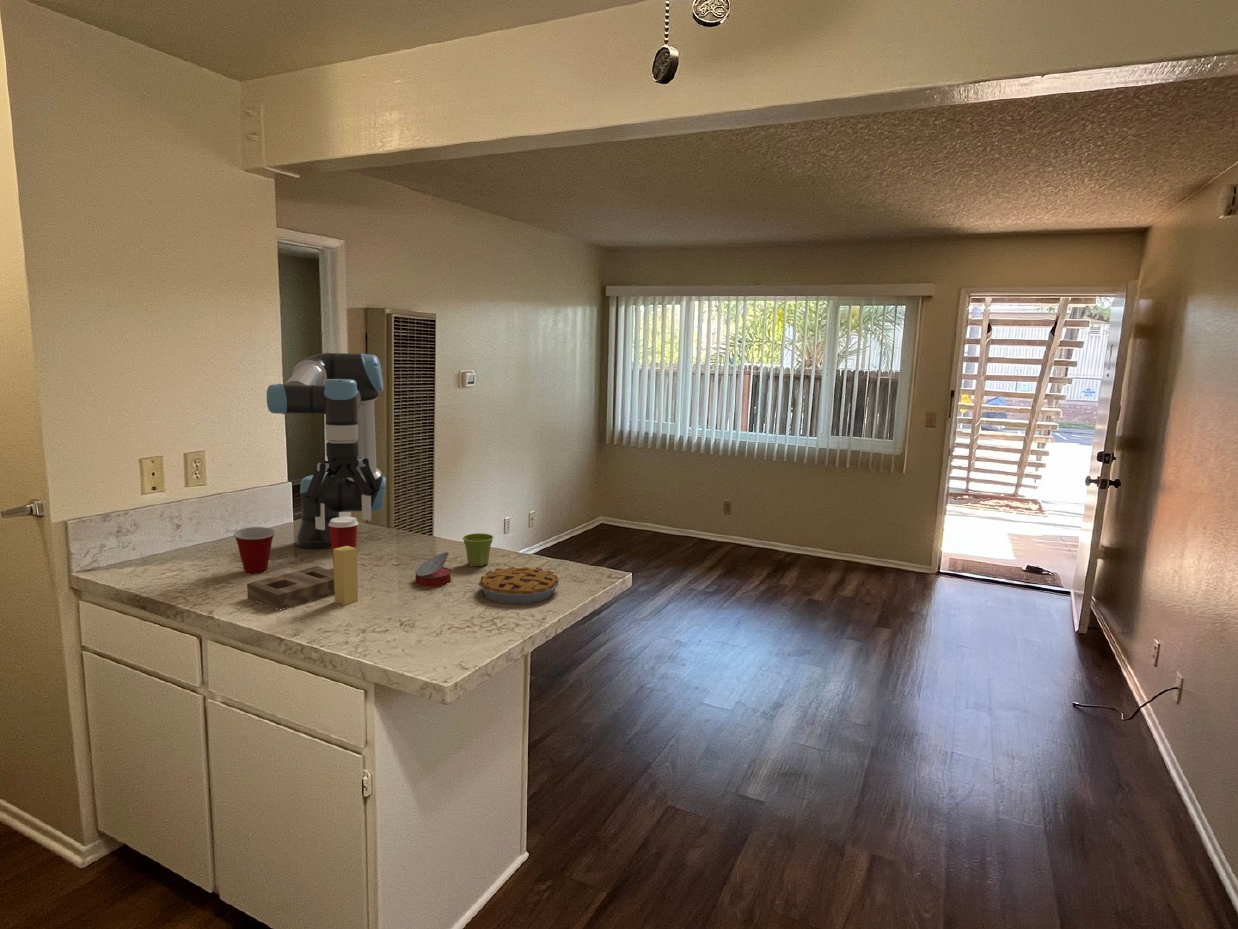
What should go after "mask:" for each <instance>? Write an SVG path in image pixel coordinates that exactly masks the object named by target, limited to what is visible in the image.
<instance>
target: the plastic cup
mask: <svg viewBox="0 0 1238 929" xmlns="http://www.w3.org/2000/svg"><path fill="white" fill-rule="evenodd" d="M275 534H276V530H275V529H273V528H270V527H266V526H251V527H250V526H249V527H243V528H240V529H237V530H235V531H234V532H233V534H232V535H233V536H234V538H235V541H236V544H237V547H238V551H239V556H240V560H241V563H242V566H243V571H244V573H245V572H246V573H245V574H247V573H250V574H249V575H256V574H255V573H259V574H262V573H261V572H263V573H265V572H267V571H266V570H268V568H269V561H270V555H271V548H272V542H273V538H274V536H275ZM264 571H265V572H264Z"/></svg>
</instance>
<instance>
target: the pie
mask: <svg viewBox="0 0 1238 929" xmlns="http://www.w3.org/2000/svg"><path fill="white" fill-rule="evenodd" d="M559 583H560V579H559V578H558V576H557V575H556V574H554V572H553V571H550V570H546V571H545V570H543V569H542V568H539V567H536V568H535V569H534V568H530V567H527V566H526V567H525V566H523V567H521V568H520V567H515V566H512V567H510V566H509V567H508V568H495V570H494V571H492V570H489V571H487V572H486V573H485V575H482V576H481V578H480V580H479V582H478V585H479V587H480V588H481V590H482V591H483V594H484V595H485V597H486V598H487V599H488V600H492V601H495V602H498V601H499V602H498V603H504V602H505V603H506V604H519V603H526V604H533V603H532V602H535V603H539V602H538V601H540V602H542V601H545V600H548V598H550V597H551V596H552V595H553V594H554V592H555V591H556V588H557V587H559V585H560V584H559ZM549 596H550V597H549Z"/></svg>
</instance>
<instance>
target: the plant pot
mask: <svg viewBox="0 0 1238 929" xmlns="http://www.w3.org/2000/svg"><path fill="white" fill-rule="evenodd" d="M494 537H495V536H493V535H492V534H490V533H483V532H482V533H481V532H479V533H469V534H465V535H463V536H462V541H463V544H464V546H465V551H466V552H465V553H466V557H467V558H466V559H467V564H469V566H471V565H472V566H471V567H473V566H481V567H482V566H484V565H486V564H487V565H489V561H490V552H491V546H492V544H493V540H494ZM487 565H486V566H487Z"/></svg>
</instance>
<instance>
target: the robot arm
mask: <svg viewBox="0 0 1238 929" xmlns="http://www.w3.org/2000/svg"><path fill="white" fill-rule="evenodd" d="M382 372H383V370H382V366H381V362H380V360H379V358H378V357H377V355H375V354H369V353H350V352H349V353H345V352H344V353H343V352H341V353H340V352H339V353H336V352H324V353H323V352H322V353H318V354H314V355H311V356H308V357H306V358H304V359H302V360H300V361H299V362H297V363H296V364H295V366H294V367H293V370H292V372H291V376H290V377H289V378H288V380H287V381H286V382H285V383H283V384H282V383H275V384H269V385H268V387H267V389H266V407H267V409H268V411H269V412H270V413H272V414H281V415H325V439H326V441H327V442H326V443H325V451H326V453H325V454H326V457H327V460H326V461H327V462H324V463H323V462H318V461H317V462H316V463H315V466H314V473H313V474H311V475H308V476H304V477H303V478H302V480H301V481H300V487H299V488H300V490H299V494H300V511H301V512H300V513H301V514H300V515H301V516H300V517H301V522H300V525H299V529H298V531H297V535H296V538H295V541H296V546H297V547H299V548H302V549H310V550H312V549H313V550H315V549H329V548H332V545H331V534H330V526H329V525H328V524H329V523H330V521H331V519H333V518H338V517H340V513H354V512H355V513H359V512H361V520H363V521H369V522H370V521H372V512H378V511H380V510H382V509H383V507H384V502H385V500H384V499H385V494H386V492H385V491H386V484H387V477H386V476H383V475H382V471H381V470H380V468H377V446H376V442H377V441H376V421H375V418H376V417H375V401H376V400H377V399H378V398H379V397H380V393H381V392H383V391H384V380H383V379H384V377H383V373H382Z"/></svg>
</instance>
